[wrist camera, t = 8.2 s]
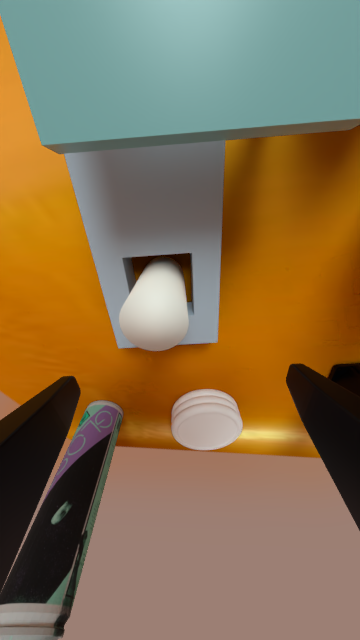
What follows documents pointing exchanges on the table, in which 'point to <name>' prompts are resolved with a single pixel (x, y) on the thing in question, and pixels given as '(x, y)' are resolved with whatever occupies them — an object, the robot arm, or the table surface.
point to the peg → (156, 307)
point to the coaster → (206, 420)
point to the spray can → (61, 533)
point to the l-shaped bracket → (184, 69)
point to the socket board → (154, 221)
